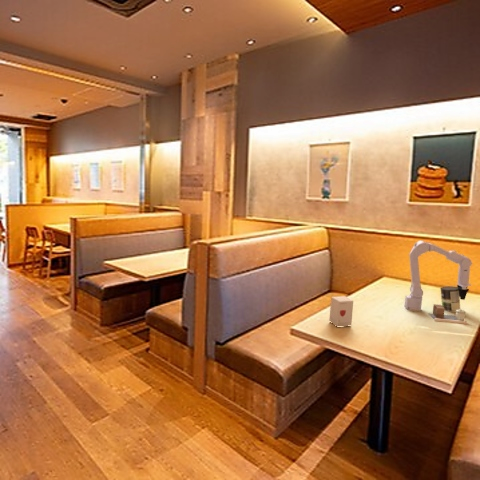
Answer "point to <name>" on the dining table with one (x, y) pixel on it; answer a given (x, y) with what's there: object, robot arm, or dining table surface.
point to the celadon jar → (460, 315)
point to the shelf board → (447, 319)
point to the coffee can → (450, 298)
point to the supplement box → (341, 311)
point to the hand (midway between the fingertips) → (461, 298)
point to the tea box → (438, 311)
